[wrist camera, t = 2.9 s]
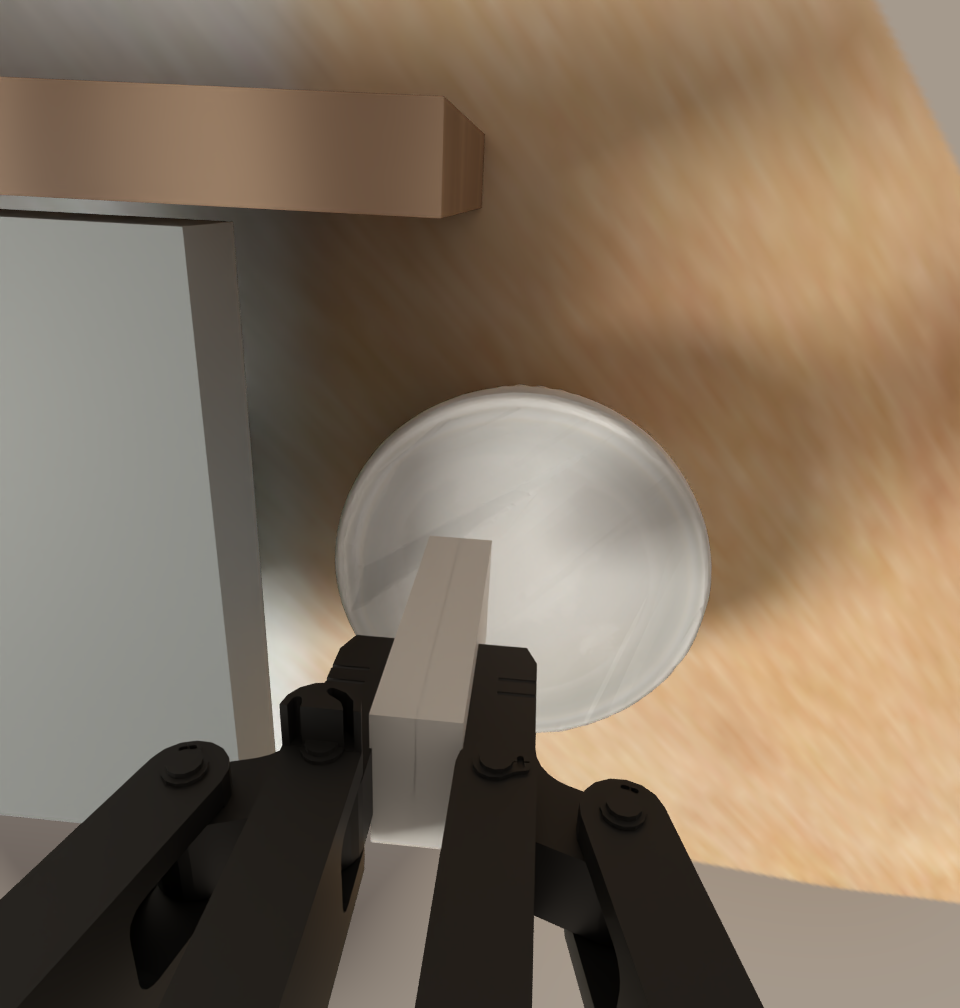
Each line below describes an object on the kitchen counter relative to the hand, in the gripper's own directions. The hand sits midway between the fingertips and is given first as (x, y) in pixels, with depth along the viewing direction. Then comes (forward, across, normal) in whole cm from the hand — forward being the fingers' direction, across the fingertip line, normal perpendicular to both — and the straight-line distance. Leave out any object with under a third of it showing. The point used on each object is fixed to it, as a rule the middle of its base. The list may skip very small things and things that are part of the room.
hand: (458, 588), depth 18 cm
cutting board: (+9, -14, +9) cm, 19 cm away
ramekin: (+9, +2, -2) cm, 9 cm away
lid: (+2, -11, 0) cm, 12 cm away
